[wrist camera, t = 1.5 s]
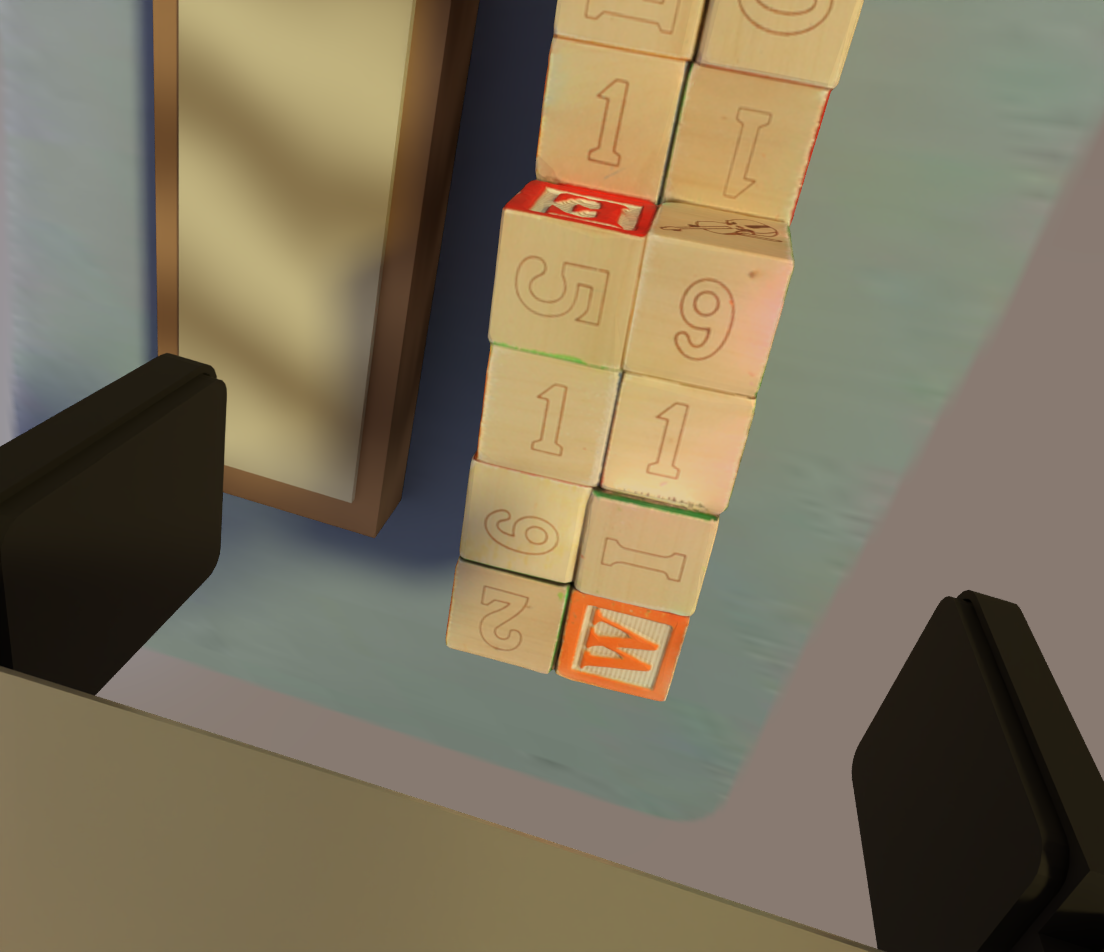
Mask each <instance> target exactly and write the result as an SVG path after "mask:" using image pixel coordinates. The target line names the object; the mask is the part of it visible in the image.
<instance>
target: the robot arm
mask: <svg viewBox="0 0 1104 952" xmlns="http://www.w3.org/2000/svg"><path fill="white" fill-rule="evenodd" d="M226 407H227V388H226V384H225V383H224V381H223V380H220V379H217V375H216V372H215V369H214V368H213V367H212V366H211V365H208V364H204V363H201V362H198V361H194V360H191V359H188V358H184V357H181V356H177V355H174V354H170V353H165V354H162V355H160V356H158V357H156V358H154V359H153V360H151V361H149V362H147V363H146V364H144V365H142V366H140V367H139V368H137V369H135V370H133V371H132V372H130V373H128V374H126V375H125V376H123V377H121V378H119V379H118V380H116V381H114V382H112V383H111V384H109V385H107V386H105V387H104V388H102V389H100V390H98V391H97V392H95V393H93V394H91V395H90V396H88V397H86V398H84V399H83V400H81V401H79V402H77V403H76V404H74V405H72V406H70V407H69V408H67V409H65V410H63V411H62V412H60V413H58V414H56V415H55V416H53V417H51V418H49V419H48V420H46V421H44V422H42V423H41V424H39V425H37V426H35V427H34V428H32V429H30V430H28V431H27V432H25V433H23V434H21V435H20V436H18V437H16V438H14V439H13V440H11V441H9V442H7V443H6V444H4V445H2V446H1V447H0V952H1104V781H1103V779H1102V777H1101V775H1100V773H1099V771H1098V769H1097V767H1096V765H1095V763H1094V761H1093V758H1092V756H1091V754H1090V752H1089V750H1088V748H1087V746H1086V744H1085V742H1084V740H1083V738H1082V736H1081V734H1080V731H1079V729H1078V727H1077V725H1076V723H1075V721H1074V719H1073V717H1072V715H1071V713H1070V711H1069V709H1068V707H1067V705H1066V702H1065V701H1064V698H1063V697H1062V694H1061V692H1060V690H1059V688H1058V686H1057V684H1056V682H1055V680H1054V678H1053V675H1052V673H1051V671H1050V669H1049V667H1048V665H1047V663H1046V661H1045V659H1044V657H1043V655H1042V653H1041V651H1040V648H1039V646H1038V644H1037V642H1036V640H1035V638H1034V636H1033V634H1032V632H1031V630H1030V628H1029V626H1028V624H1027V621H1026V620H1025V617H1024V615H1023V613H1022V611H1021V609H1020V608H1019V607H1018V606H1017V604H1014V603H1011V602H1008V601H1004V600H1001V599H998V598H994V597H991V596H988V595H984V594H980V593H977V592H974V591H971V590H967V591H964V592H962V593H961V594H960V595H959V596H958V597H957V598H953V597H950V596H948V597H945V598H944V599H943V600H942V601H941V602H940V603H939V605H938V606H937V608H936V610H935V611H934V613H933V615H932V617H931V619H930V620H929V622H928V624H927V625H926V627H925V629H924V631H923V632H922V634H921V636H920V638H919V640H918V642H917V643H916V645H915V647H914V648H913V650H912V652H911V654H910V656H909V657H908V659H907V661H906V662H905V664H904V666H903V668H902V669H901V671H900V673H899V675H898V677H897V679H896V680H895V682H894V684H893V685H892V687H891V689H890V691H889V692H888V694H887V696H886V698H885V699H884V701H883V703H882V705H881V707H880V708H879V710H878V712H877V714H876V715H875V717H874V719H873V721H872V722H871V724H870V726H869V728H868V729H867V731H866V733H865V735H864V736H863V738H862V740H861V742H860V743H859V745H858V747H857V750H856V752H855V755H854V759H853V764H852V781H853V788H854V794H855V801H856V808H857V815H858V821H859V828H860V835H861V841H862V848H863V855H864V861H865V868H866V874H867V881H868V888H869V894H870V901H871V908H872V915H873V921H874V928H875V935H876V941H877V948H878V949H876V948H873V947H870V946H867V945H864V944H861V943H858V942H855V941H852V940H849V939H846V938H843V937H840V936H837V935H834V934H831V933H828V932H825V931H822V930H819V929H816V928H813V927H810V926H807V925H804V924H801V923H798V922H795V921H792V920H789V919H786V918H783V917H779V916H776V915H773V914H770V913H767V912H764V911H761V910H758V909H755V908H752V907H749V906H746V905H743V904H740V903H737V902H734V901H731V900H728V899H725V898H722V897H719V896H716V895H713V894H710V893H707V892H704V891H700V890H697V889H694V888H691V887H688V886H685V885H682V884H679V883H676V882H673V881H670V880H667V879H664V878H661V877H658V876H655V875H652V874H649V873H646V872H643V871H640V870H637V869H634V868H631V867H627V866H625V865H622V864H618V863H615V862H612V861H609V860H606V859H603V858H600V857H597V856H594V855H591V854H588V853H585V852H582V851H579V850H575V849H573V848H569V847H566V846H563V845H560V844H557V843H554V842H551V841H548V840H545V839H542V838H539V837H535V836H532V835H529V834H526V833H523V832H520V831H517V830H514V829H511V828H508V827H505V826H501V825H499V824H495V823H492V822H489V821H486V820H483V819H480V818H477V817H474V816H471V815H468V814H465V813H461V812H458V811H455V810H452V809H449V808H446V807H443V806H439V805H436V804H433V803H430V802H427V801H424V800H421V799H418V798H415V797H412V796H408V795H405V794H402V793H399V792H396V791H393V790H390V789H387V788H384V787H381V786H377V785H374V784H371V783H368V782H365V781H362V780H359V779H356V778H353V777H350V776H347V775H343V774H340V773H337V772H334V771H331V770H328V769H325V768H321V767H319V766H315V765H312V764H309V763H306V762H303V761H300V760H296V759H293V758H290V757H287V756H284V755H280V754H278V753H274V752H271V751H268V750H265V749H262V748H258V747H255V746H252V745H249V744H246V743H243V742H240V741H236V740H233V739H230V738H227V737H224V736H221V735H217V734H214V733H211V732H208V731H205V730H202V729H199V728H195V727H192V726H189V725H186V724H182V723H180V722H176V721H173V720H170V719H167V718H163V717H160V716H157V715H154V714H151V713H148V712H145V711H142V710H138V709H135V708H132V707H129V706H126V705H123V704H120V703H116V702H113V701H110V700H107V699H103V698H100V697H97V696H95V695H96V694H97V693H98V692H99V691H100V690H101V689H102V688H103V687H104V686H105V685H106V683H107V682H108V681H109V680H110V679H111V678H112V677H113V676H114V675H115V674H116V673H117V672H118V671H119V670H120V669H121V668H122V667H123V666H124V665H125V664H126V663H127V662H128V661H129V660H130V658H131V657H132V656H133V655H134V654H135V653H136V652H137V651H138V650H139V649H140V648H141V647H142V646H143V645H144V644H145V643H146V642H147V641H148V640H149V639H150V638H151V637H152V636H153V635H154V633H155V632H156V631H157V630H158V629H159V628H160V627H161V626H162V625H163V624H164V623H165V622H166V621H167V620H168V619H169V618H170V617H171V616H172V615H173V614H174V613H175V612H176V611H177V610H178V608H179V607H180V606H181V605H182V604H183V603H184V602H185V601H186V600H187V599H188V598H189V597H190V596H191V595H192V594H193V593H194V592H195V591H196V590H197V589H198V588H199V587H200V586H201V585H202V583H203V582H204V581H205V580H206V579H207V578H208V577H209V576H210V575H211V573H212V572H213V570H214V568H215V566H216V564H217V561H218V558H219V555H220V548H221V524H222V501H223V478H224V454H225V431H226Z"/></svg>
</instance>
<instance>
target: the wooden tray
mask: <svg viewBox="0 0 1104 952" xmlns="http://www.w3.org/2000/svg"><path fill="white" fill-rule="evenodd" d="M478 6H479V0H153V42H154V113H155V183H156V254H157V324H158V356H160V355H162V354H165V353H170V354H174V355H177V356H181V357H184V358H188V359H191V360H194V361H198V362H201V363H204V364H208V365H211V366H212V367H213V368H214V369H215V372H216V375H217V379H220V380H223V381H224V383H225V384H226V388H227V407H226V431H225V454H224V478H223V492H224V493H228V494H231V495H234V496H237V497H241V498H244V499H247V500H251V501H254V502H257V503H261V504H264V505H267V506H270V507H274V508H277V509H280V510H284V511H287V512H290V513H294V514H297V515H300V516H303V517H307V518H310V519H313V520H317V521H320V522H323V523H326V524H330V525H333V526H336V527H340V528H343V529H346V530H350V531H353V532H356V533H359V534H363V535H366V536H369V537H373V538H375V537H376V536H377V534H378V533H379V531H380V530H381V528H382V527H383V525H384V524H385V523H386V521H387V520H388V518H389V517H390V515H391V514H392V512H393V511H394V509H395V508H396V506H397V505H398V504H399V502H400V501H401V496H402V490H403V484H404V477H405V471H406V465H407V458H408V452H409V446H410V439H411V433H412V426H413V420H414V414H415V407H416V401H417V395H418V388H419V382H420V375H421V369H422V363H423V356H424V350H425V344H426V337H427V331H428V325H429V318H430V312H431V305H432V299H433V293H434V286H435V280H436V274H437V267H438V261H439V254H440V248H441V242H442V235H443V229H444V223H445V216H446V210H447V204H448V197H449V191H450V184H451V178H452V172H453V165H454V159H455V153H456V146H457V140H458V133H459V127H460V121H461V114H462V108H463V102H464V95H465V89H466V83H467V76H468V70H469V63H470V57H471V51H472V44H473V38H474V32H475V25H476V19H477V12H478Z"/></svg>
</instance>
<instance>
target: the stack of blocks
mask: <svg viewBox="0 0 1104 952" xmlns="http://www.w3.org/2000/svg"><path fill="white" fill-rule="evenodd" d="M863 1H864V0H557V7H556V14H555V22H554V35H553V39H552V43H551V48H550V52H549V57H548V68H547V74H546V81H545V89H544V96H543V105H542V115H541V123H540V131H539V138H538V146H537V154H536V168H535V172H536V177H537V179H536V180H534V181H530V182H529V183H528V184H526V185H525V187H524V188H523V189H522V190H521V191H520V192H519V193H517V194H516V195H515V196H514V197H513V198H512V199H511V200H510V201H509V202H508V203H506V205H505V206H504V207H503V210H502V218H501V226H500V235H499V245H498V254H497V262H496V270H495V279H494V288H493V297H492V305H491V314H490V322H489V330H488V339H489V341H490V344H491V346H490V354H489V360H488V366H487V373H486V381H485V389H484V397H483V407H482V415H481V422H480V430H479V438H478V447H477V451H476V452H475V454H474V456H473V457H472V461H471V465H470V472H469V480H468V487H467V496H466V504H465V513H464V520H463V527H462V535H461V542H460V556H459V559H458V562H457V564H456V568H455V576H454V583H453V590H452V597H451V604H450V611H449V618H448V625H447V632H446V645H447V646H448V647H450V648H452V649H456V650H460V651H464V652H468V653H472V654H476V655H479V656H483V657H487V658H491V659H494V660H498V661H502V662H506V663H509V664H513V665H517V666H520V667H523V668H527V669H530V670H533V671H537V672H540V673H545V674H547V673H549V672H550V671H551V670H553V669H555V672H556V673H557V674H558V675H560V676H562V677H565V678H568V679H570V680H573V681H578V682H582V683H586V684H590V685H594V686H598V687H602V688H606V689H610V690H614V691H618V692H623V693H627V694H631V695H635V696H639V697H643V698H647V699H652V700H656V701H665V700H666V697H667V694H668V691H669V688H670V684H671V681H672V678H673V674H674V671H675V667H676V664H677V660H678V657H679V654H680V651H681V648H682V644H683V641H684V638H685V634H686V631H687V628H688V625H689V618H690V616H691V615H692V614H693V613H694V612H695V608H696V605H697V601H698V598H699V594H700V590H701V587H702V583H703V579H704V576H705V572H706V569H707V565H708V562H709V558H710V554H711V551H712V547H713V543H714V540H715V536H716V532H717V528H718V522H719V514H720V513H722V512H723V511H725V510H726V509H727V507H728V505H729V501H730V497H731V494H732V491H733V488H734V483H735V479H736V475H737V472H738V469H739V465H740V462H741V459H742V455H743V451H744V448H745V444H746V441H747V437H748V434H749V430H750V426H751V423H752V419H753V416H754V411H755V405H756V397H757V392H758V390H759V388H760V386H761V382H762V379H763V375H764V372H765V368H766V365H767V361H768V358H769V354H770V350H771V347H772V343H773V340H774V336H775V333H776V329H777V326H778V322H779V319H780V315H781V312H782V308H783V305H784V301H785V297H786V294H787V290H788V286H789V283H790V279H791V276H792V273H793V270H794V258H793V251H792V243H791V234H790V229H789V226H790V224H791V222H792V219H793V216H794V212H795V208H796V205H797V202H798V198H799V195H800V192H801V189H802V185H803V182H804V179H805V175H806V172H807V168H808V165H809V162H810V158H811V155H812V152H813V148H814V145H815V142H816V138H817V135H818V132H819V129H820V126H821V122H822V119H823V116H824V112H825V109H826V105H827V102H828V99H829V96H830V92H831V91H832V90H833V89H834V88H835V87H836V86H837V85H838V82H839V79H840V76H841V73H842V69H843V66H844V63H845V60H846V57H847V53H848V50H849V47H850V44H851V41H852V37H853V34H854V31H855V28H856V25H857V22H858V18H859V15H860V12H861V8H862V5H863Z"/></svg>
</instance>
